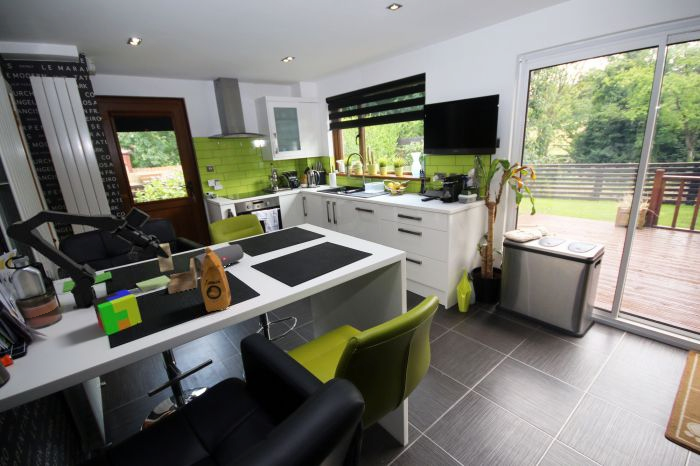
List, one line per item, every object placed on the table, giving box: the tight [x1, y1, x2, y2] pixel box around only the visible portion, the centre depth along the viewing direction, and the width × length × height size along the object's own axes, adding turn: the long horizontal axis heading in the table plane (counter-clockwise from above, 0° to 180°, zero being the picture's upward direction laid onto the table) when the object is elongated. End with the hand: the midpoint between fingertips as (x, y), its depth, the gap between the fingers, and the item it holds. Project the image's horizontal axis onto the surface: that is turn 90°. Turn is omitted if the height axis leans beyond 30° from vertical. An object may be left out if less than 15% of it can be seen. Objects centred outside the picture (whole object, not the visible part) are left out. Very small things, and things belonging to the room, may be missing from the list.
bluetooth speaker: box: [193, 243, 245, 274], centre depth 159 cm, size 23×9×10 cm, turn 143°
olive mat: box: [135, 274, 171, 293], centre depth 144 cm, size 12×12×1 cm
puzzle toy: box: [92, 289, 143, 336], centre depth 110 cm, size 10×10×10 cm
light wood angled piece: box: [166, 257, 198, 295], centre depth 139 cm, size 11×13×10 cm
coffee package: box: [200, 246, 232, 313], centre depth 118 cm, size 10×12×22 cm
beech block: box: [157, 242, 175, 273], centre depth 138 cm, size 5×5×11 cm
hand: (168, 256), depth 139 cm, fingers closed on beech block, 5 cm apart
